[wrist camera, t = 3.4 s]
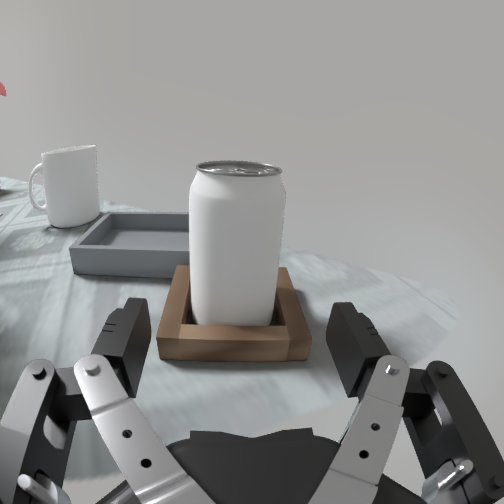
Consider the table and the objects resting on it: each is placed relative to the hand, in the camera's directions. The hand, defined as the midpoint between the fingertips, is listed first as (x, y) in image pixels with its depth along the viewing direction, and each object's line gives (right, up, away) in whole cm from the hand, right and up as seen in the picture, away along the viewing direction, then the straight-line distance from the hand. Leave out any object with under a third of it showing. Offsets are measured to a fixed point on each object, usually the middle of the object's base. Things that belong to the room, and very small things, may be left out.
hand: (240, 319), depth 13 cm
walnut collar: (-1, -3, +12) cm, 12 cm away
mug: (-30, +8, +30) cm, 43 cm away
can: (-1, -3, +12) cm, 12 cm away
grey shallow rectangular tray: (-12, +3, +21) cm, 25 cm away
